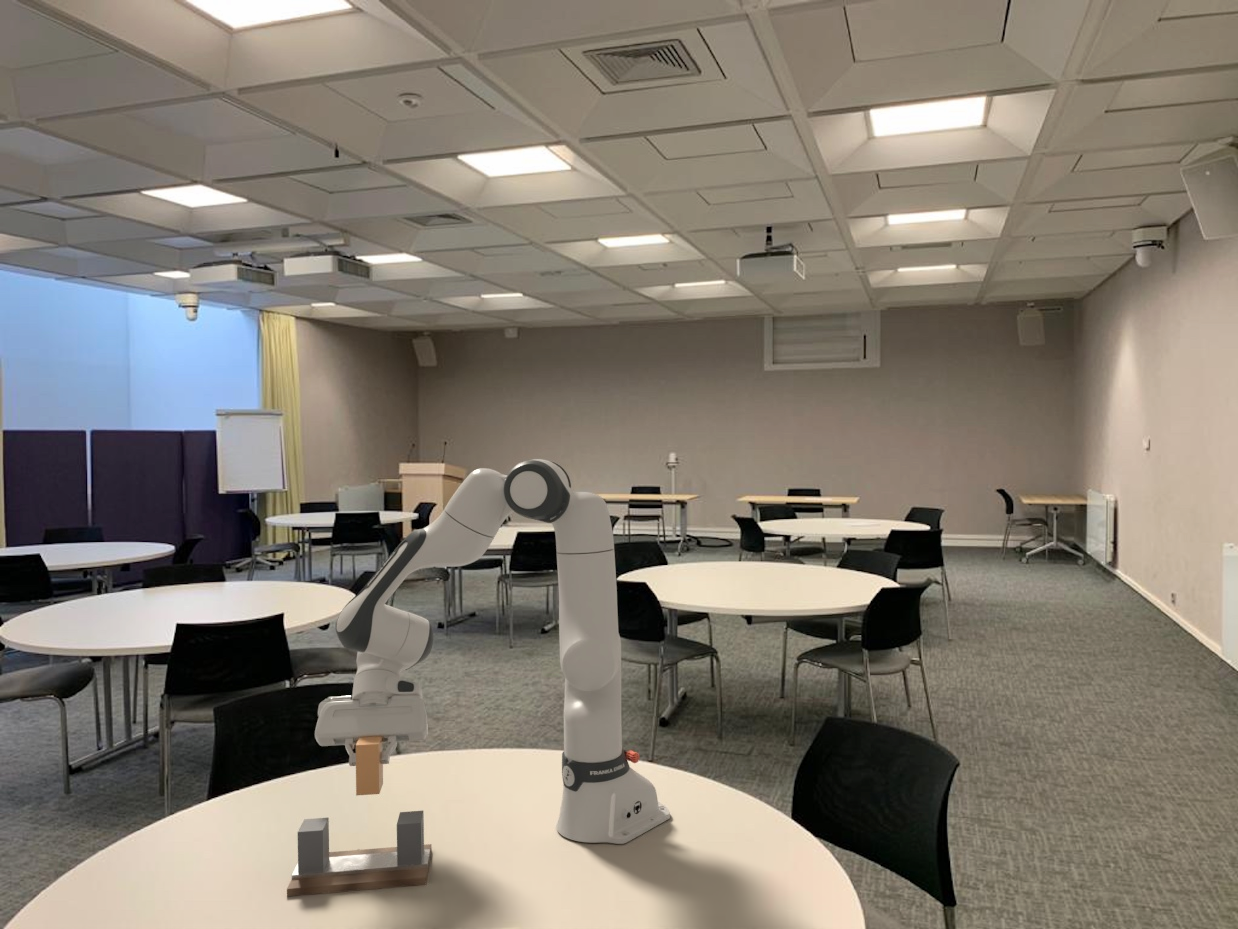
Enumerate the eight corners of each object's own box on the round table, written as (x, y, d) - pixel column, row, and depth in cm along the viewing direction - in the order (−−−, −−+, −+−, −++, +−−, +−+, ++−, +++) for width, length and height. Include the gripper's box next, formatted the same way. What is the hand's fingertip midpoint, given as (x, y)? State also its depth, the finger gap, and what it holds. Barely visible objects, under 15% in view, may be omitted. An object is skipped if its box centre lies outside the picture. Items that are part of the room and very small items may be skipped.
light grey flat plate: (430, 852, 147) (430, 849, 147) (427, 867, 142) (427, 864, 142) (299, 863, 144) (299, 859, 144) (291, 879, 138) (291, 875, 138)
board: (431, 850, 150) (431, 844, 150) (426, 884, 138) (425, 877, 138) (303, 861, 147) (303, 854, 147) (286, 896, 135) (286, 889, 135)
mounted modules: (424, 850, 147) (423, 810, 147) (421, 864, 142) (420, 822, 142) (305, 859, 144) (304, 819, 144) (298, 874, 139) (297, 832, 139)
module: (383, 783, 155) (382, 734, 155) (379, 794, 150) (378, 744, 150) (360, 784, 154) (360, 736, 154) (356, 795, 149) (355, 745, 149)
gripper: (317, 689, 157) (306, 759, 148) (428, 683, 160) (424, 752, 151) (322, 705, 162) (312, 775, 152) (430, 700, 165) (427, 767, 155)
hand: (369, 763), depth 151 cm, fingers closed on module, 4 cm apart
